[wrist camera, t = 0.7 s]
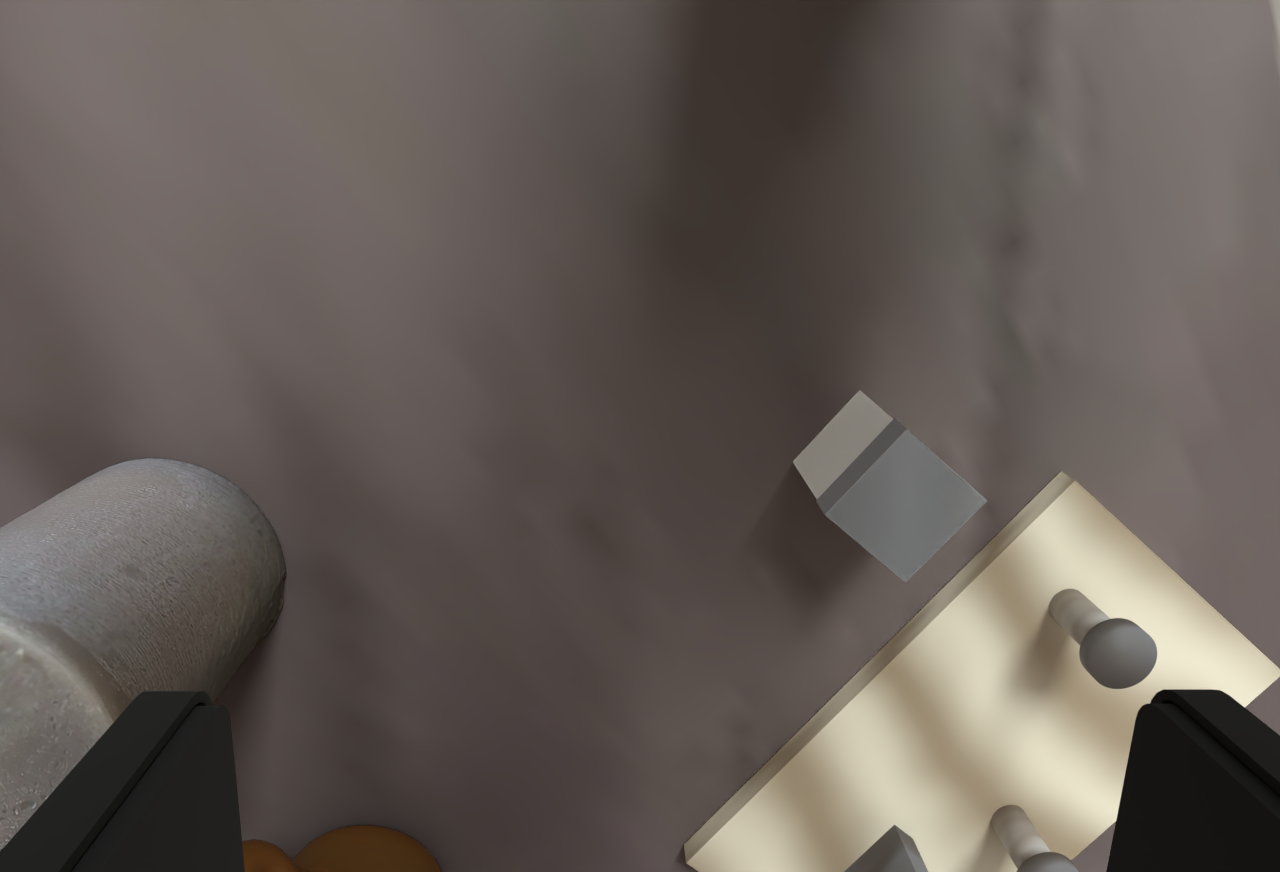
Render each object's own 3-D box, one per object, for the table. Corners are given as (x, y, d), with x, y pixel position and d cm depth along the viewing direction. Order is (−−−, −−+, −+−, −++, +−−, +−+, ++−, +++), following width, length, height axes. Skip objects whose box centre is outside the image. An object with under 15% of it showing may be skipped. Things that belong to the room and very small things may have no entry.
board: (1061, 471, 39) (1135, 520, 34) (1264, 658, 42) (1362, 731, 37) (683, 844, 44) (696, 940, 38) (892, 990, 47) (931, 1097, 41)
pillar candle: (325, 628, 40) (170, 888, 25) (115, 700, 40) (-155, 995, 26) (223, 421, 37) (-15, 577, 23) (-1, 500, 38) (-373, 703, 23)
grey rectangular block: (859, 388, 38) (906, 429, 32) (929, 449, 39) (987, 500, 33) (790, 461, 39) (824, 515, 33) (860, 520, 39) (905, 582, 34)
